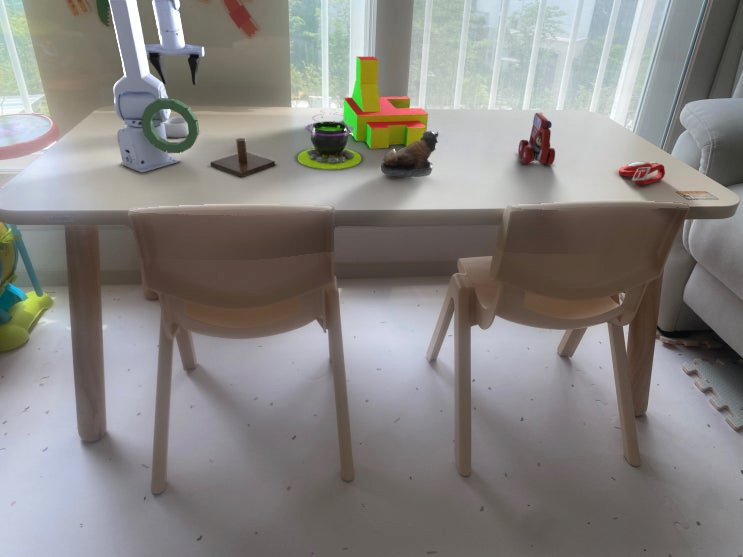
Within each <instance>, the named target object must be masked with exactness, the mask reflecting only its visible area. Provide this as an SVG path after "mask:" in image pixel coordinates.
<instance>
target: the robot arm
mask: <svg viewBox="0 0 743 557" xmlns="http://www.w3.org/2000/svg"><path fill="white" fill-rule="evenodd" d="M108 3H109V7H110V13H111V16H112V22H113V25H114V30H115V36H116V40H117V44H118V50H119V54H120V58H121V63H122V68H123V74H124V75H123V76H122V77H121V78H119V79H118V80H117V81H116V82H115V84H114V86H113V90H112V91H113V97H114V99H113V100H114V102H113V103H114V109H115V113H116V115H117V118H119V119H120V120H121V121H123V122H124V125H125V126H124V127H122V128H119V129H118V131H117V134H116V135H117V137H116V138H117V143H118V146H119V151H120V156H121V160H122V161H121V162H120V164H121V165H122V166H125V167H127V168H129V169H132V170H134V171H137V172H139V173H146V172H150V171H152V170H156V169H159V168H163V167H166V166H169V165H172V164H176V163H179V162H180V161H179V159H178V158H175V157H172V156H171V155H170V153H167V151H166V152H164V151H162V150H160V149H158V148H156V147H154V144H153V145H152V144H151V143H150V142H149V140H148V139H147V138H146V136H145V135H144V134H145V133H143V129H142V124H141V120H142V119H141V117H142V115H143V113H144V110H145V108H146V107H147V106H148V105H149V104H150V103H152V102H154V101H155V100H157V99H160V98H169V96H168V94H167V91H166V87H165V85H166V84H167V83H168V81H169V80H168V75H167V70H166V67H165V59H164V56H165V55H166V56H188V58H187V63H188V66H189V70H190V74H191V82H192V85H193V86H196V85H197V83H198V71H199V65H200V61H201V58H203V57H204V56H205V48H204V46H201V45H194V44H187V43H186V42H185V37H184V31H183V27H182V21H181V15H180V9H179V8H180V6H181V4H180V0H151V3H152V8H153V13H154V18H155V22H156V27H157V33H158V37H159V42H160V43H157V44H156V43H155V44H154V43H153V44H145V40H144V39H145V38H144V34H143V30H142V24H141V18H140V13H139V8H138V2H137V0H108ZM148 56H149V57H148ZM149 63H150V64H151V65H152V66H153V67H154V69H155V70H156V72H157V74H158V75H159V78H160V79H161V80H159V79H158V78H157V77H155V76H154V75H153V74H151V71H150V66H149ZM170 117H171V110H170V109H161V110H159V111H158V112H156V113H155V115H154V117H153V119H152V121H153V126H154V130H155V131H156V132H157V134H158V135H159V136H160V137H161V138H163V139H165V140H166V141H168V139H167V138H168V137H166V132H165V126H164V122H166V121H167V120H168V118H170Z"/></svg>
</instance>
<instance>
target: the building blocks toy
mask: <svg viewBox="0 0 743 557" xmlns="http://www.w3.org/2000/svg"><path fill="white" fill-rule="evenodd" d="M378 78H379V59H377V58H376V57H375V56H356V58H355V81H354V86H353V91H352V95H351V97H343V107H342V108H343V110H342V112H343V114H342V118H343V120H342V121H343V123H345V124H346V125H347V124H348V126H349V125H350V126H351V127H353V128H354V129H353V128H351V129H352V131H353V130H354V131H353V132H352V131H351V134H352V137H353V138H354V140H355V142H365V143H366V144H367V146H368V147H369V149H389V147H390V146H391V145H403V146H405V147H407V146H408V145H410V144H411V143H413V142H415V141H421V140H420V138H422V137H423V132H424V131H425V132H428V121H429V120H428V119H429V113H428V112H427V111H425V110H424V109H422V107H414V108H411V107H410V106H411V98H410V97H409V96H380V93H379V85H378V81H379V80H378ZM344 116H345V117H344ZM345 118H347V119H345ZM344 120H345V121H344ZM347 130H348V131H350V130H349V128H348V127H347Z"/></svg>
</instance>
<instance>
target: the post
mask: <svg viewBox="0 0 743 557" xmlns="http://www.w3.org/2000/svg"><path fill="white" fill-rule="evenodd" d="M235 141H236V142H235V143H236V152H237V153H235V154H232V155H229V156H226V157H222V158H219V159H216V160H213V161H210V167H212V168H214V169H218V170H220V171H223V172H226V173H228V174H231V175H234V176H237V177H240V178H244V177H246V176H250V175H252V174H254V173H255V174H256V173H257V172H260V171H263V170H266V169H269V168H271V167H275V165H276V161H275V160H272V159H270V158H267V157H263V156H261V155H257V154H254V153H251V152H248V151H247V140H246V138H243V137H238V138H236V139H235Z"/></svg>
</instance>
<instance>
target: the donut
mask: <svg viewBox="0 0 743 557" xmlns="http://www.w3.org/2000/svg"><path fill="white" fill-rule="evenodd" d="M164 126H165V132H166V138H171V139H172V138H174V139H175V138H176V139H178V138H186V137H187V135H188V133H189V132H188V125H187V122H186V121H185V119H184V118H183V117H182V116H169V118H168V120H167V121H166V122H164Z"/></svg>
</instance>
